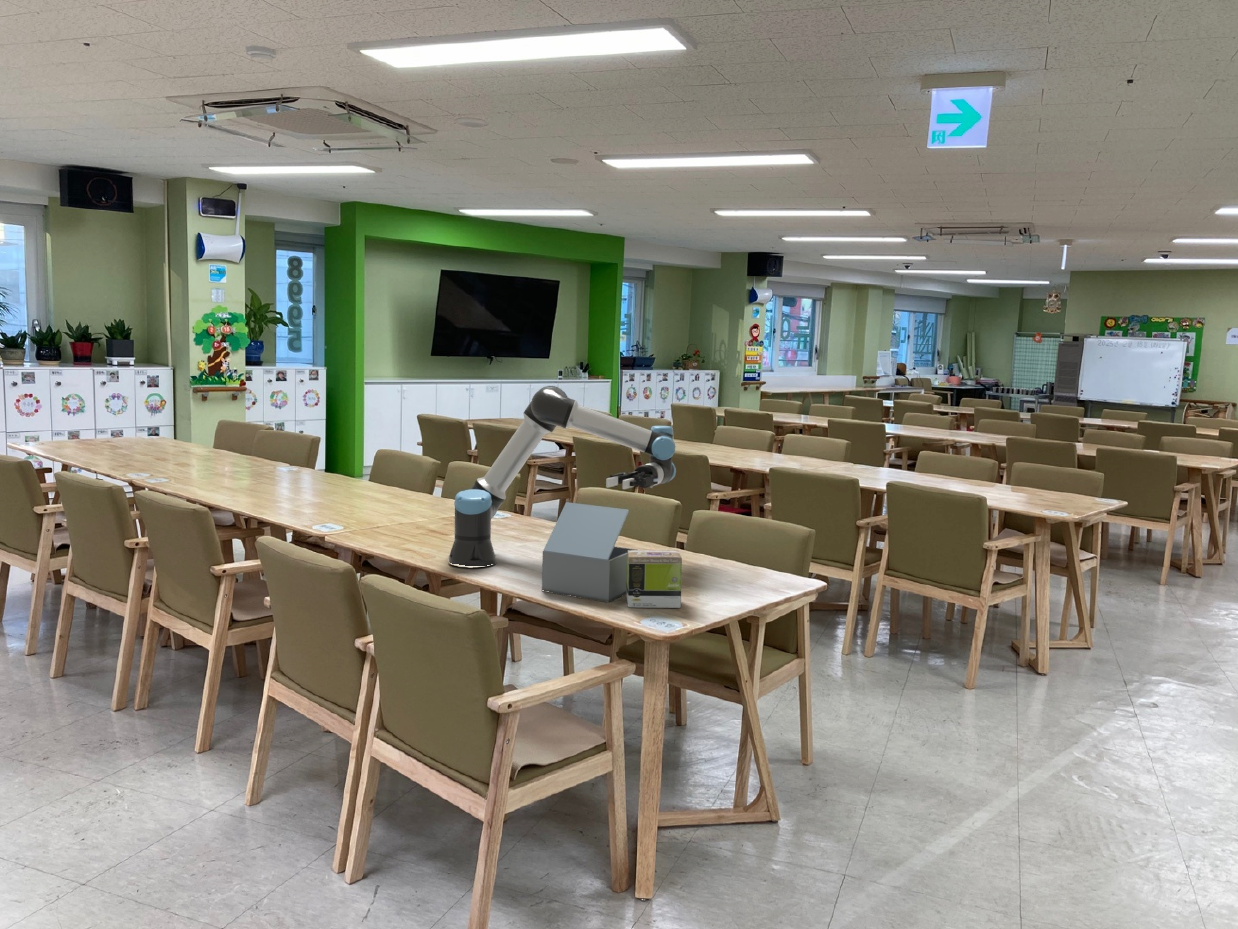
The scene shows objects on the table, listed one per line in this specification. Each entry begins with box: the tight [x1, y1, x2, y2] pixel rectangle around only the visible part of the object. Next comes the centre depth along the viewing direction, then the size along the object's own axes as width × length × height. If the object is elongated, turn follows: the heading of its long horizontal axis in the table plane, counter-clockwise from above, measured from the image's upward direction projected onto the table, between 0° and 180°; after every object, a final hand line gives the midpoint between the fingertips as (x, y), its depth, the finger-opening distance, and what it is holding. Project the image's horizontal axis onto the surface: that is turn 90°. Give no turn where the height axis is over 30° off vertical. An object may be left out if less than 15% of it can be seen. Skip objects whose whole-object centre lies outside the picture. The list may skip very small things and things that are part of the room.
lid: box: [543, 502, 630, 561], centre depth 275 cm, size 21×18×1 cm
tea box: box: [625, 549, 683, 609], centre depth 267 cm, size 15×10×15 cm, turn 92°
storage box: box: [541, 546, 638, 603], centre depth 280 cm, size 22×18×12 cm
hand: (615, 484), depth 290 cm, fingers open, 5 cm apart
